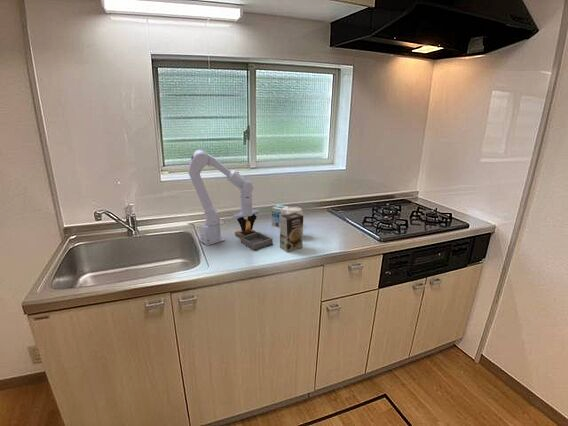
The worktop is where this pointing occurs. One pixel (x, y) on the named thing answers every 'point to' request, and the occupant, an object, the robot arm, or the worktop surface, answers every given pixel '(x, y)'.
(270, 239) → the tray
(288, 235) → the coffee box
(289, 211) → the supplement can
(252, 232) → the brown square shallow dish
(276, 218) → the light bulb box
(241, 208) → the robot arm
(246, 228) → the cell
